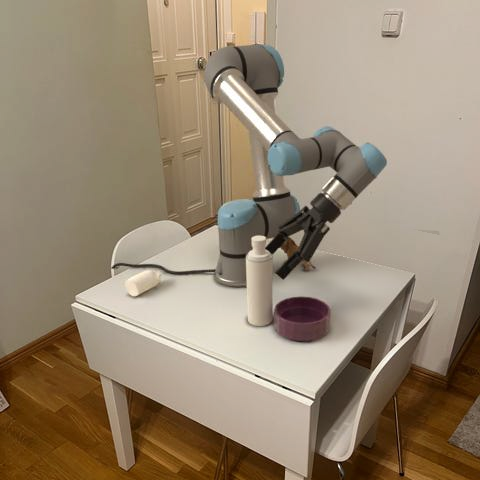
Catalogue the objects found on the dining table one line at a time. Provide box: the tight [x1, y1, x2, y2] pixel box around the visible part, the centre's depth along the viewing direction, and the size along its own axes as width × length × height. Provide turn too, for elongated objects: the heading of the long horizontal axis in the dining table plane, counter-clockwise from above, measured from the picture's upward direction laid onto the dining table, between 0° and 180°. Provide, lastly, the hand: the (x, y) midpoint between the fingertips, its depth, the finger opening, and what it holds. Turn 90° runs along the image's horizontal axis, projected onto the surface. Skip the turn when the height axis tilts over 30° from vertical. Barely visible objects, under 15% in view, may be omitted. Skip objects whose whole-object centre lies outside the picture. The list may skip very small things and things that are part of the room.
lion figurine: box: [278, 236, 316, 271], centre depth 159 cm, size 15×5×9 cm, turn 50°
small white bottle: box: [124, 269, 162, 297], centre depth 149 cm, size 6×12×6 cm, turn 141°
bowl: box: [273, 295, 332, 342], centre depth 126 cm, size 14×14×6 cm
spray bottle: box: [246, 236, 274, 327], centre depth 126 cm, size 7×7×25 cm
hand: (271, 265), depth 124 cm, fingers open, 13 cm apart
